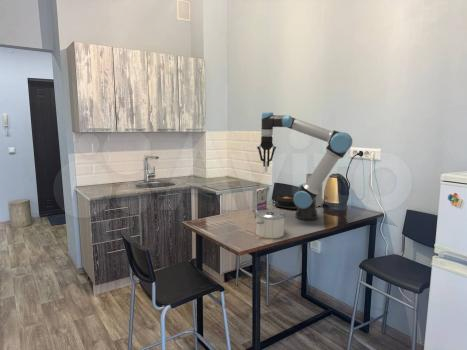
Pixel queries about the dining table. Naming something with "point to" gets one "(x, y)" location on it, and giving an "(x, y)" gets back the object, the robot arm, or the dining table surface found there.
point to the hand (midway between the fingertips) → (266, 171)
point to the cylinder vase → (319, 196)
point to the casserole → (286, 202)
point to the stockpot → (269, 227)
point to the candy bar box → (259, 199)
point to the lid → (270, 214)
